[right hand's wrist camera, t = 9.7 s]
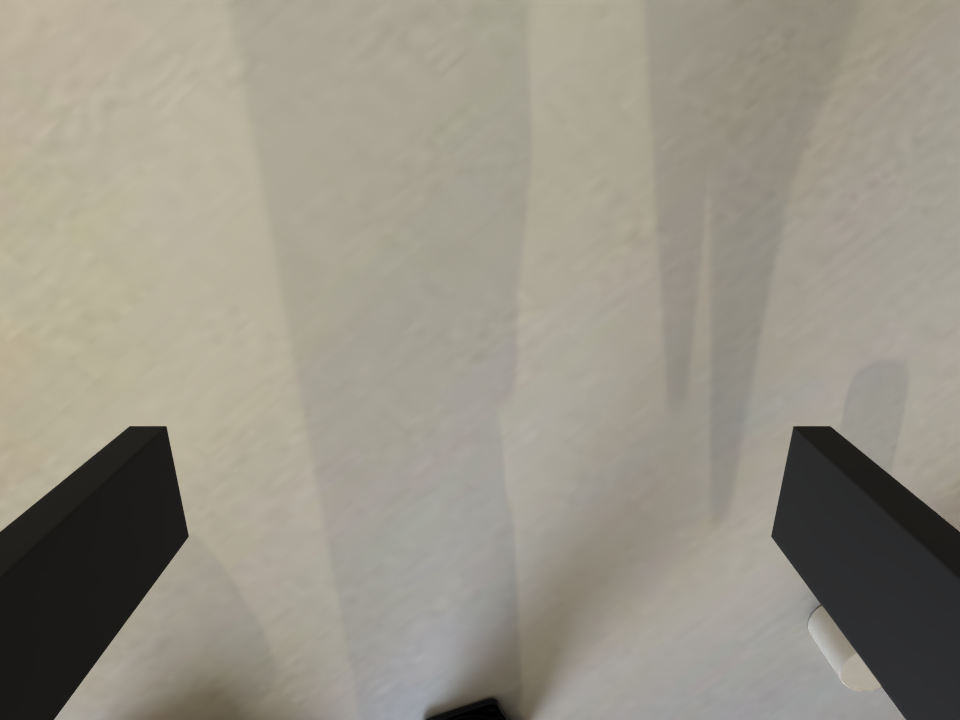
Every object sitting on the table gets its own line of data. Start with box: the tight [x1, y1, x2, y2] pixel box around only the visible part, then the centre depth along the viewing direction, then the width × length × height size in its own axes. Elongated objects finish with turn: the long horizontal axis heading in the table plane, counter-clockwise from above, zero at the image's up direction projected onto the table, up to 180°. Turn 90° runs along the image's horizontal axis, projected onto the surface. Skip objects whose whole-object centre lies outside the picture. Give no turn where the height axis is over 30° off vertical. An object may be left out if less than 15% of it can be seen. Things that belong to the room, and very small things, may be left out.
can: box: [808, 606, 882, 691], centre depth 40 cm, size 4×4×4 cm
